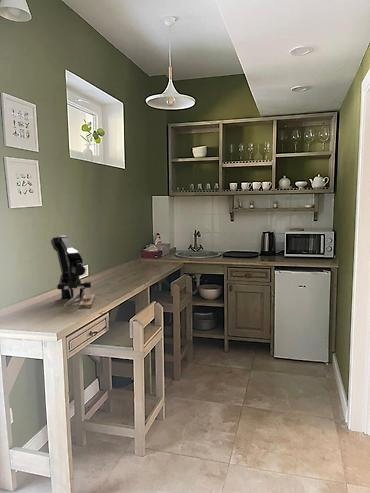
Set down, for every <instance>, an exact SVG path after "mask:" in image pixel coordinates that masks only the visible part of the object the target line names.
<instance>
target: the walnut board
mask: <svg viewBox="0 0 370 493" xmlns="http://www.w3.org/2000/svg"><path fill="white" fill-rule="evenodd" d="M95 299H96V294H85V295H84V296H83V298H82V299H80V302H79V304H78V309H92V307H93V304H94V302H95Z"/></svg>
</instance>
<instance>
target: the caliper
mask: <svg viewBox="0 0 370 493" xmlns="http://www.w3.org/2000/svg"><path fill="white" fill-rule="evenodd" d="M85 293H86V292H85V289H84V290H83V292H82V296H81V299H80V298H79V297H80V291H79V292H78V293H76V295H74V296H73V298H71V300H70V299H69V300H68V301H66V302H65V303H64V305H63V307H64V308H65V307H67V306H69V305H70V304H72V303H73V302H74V301H76V300H77V299H78V300H82V298H83V296H84V295H86V294H85Z"/></svg>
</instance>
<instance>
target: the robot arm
mask: <svg viewBox="0 0 370 493" xmlns="http://www.w3.org/2000/svg"><path fill="white" fill-rule="evenodd" d="M68 238H69V237H68V235H59V236H55V237H52V238H51V240H50V244H51V246H52V248H53V250H54V251H56V256H57V259H58V263H59V268H60V272H61V273H60V277H59V281H58V284H57V285H56V286H57V290H61V293H60V294H61V300H64V299H65V300H66V299H69V300H71V299H72V298H73V297H75V293H74V292H75V291H74V290H75V289H78V287H79V292H80V297H79V300H82V299H81V296H82V292H83V290H84V291H85V289H90V288H92V286H93V285H92V281H91V280H90V281H89V280H88V281H84V282H82V280H81V278H80V276H83V275H84V274H85V272H86V268H85V267H84V266H83V261H84V260H83V258H82V256H81V254H80V253H79V251H78V250H77V249H75V248H74V247H73V246H72V244H71V243H70V240H69V239H68Z"/></svg>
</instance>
